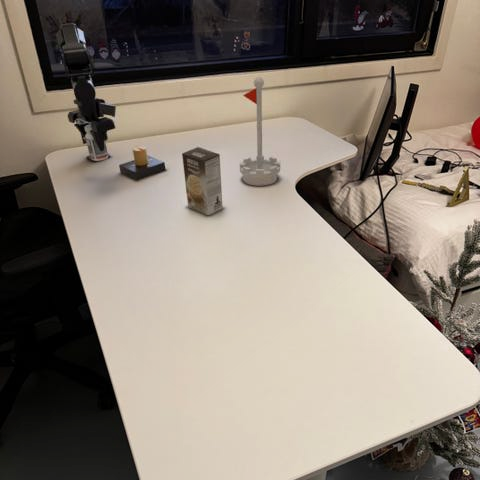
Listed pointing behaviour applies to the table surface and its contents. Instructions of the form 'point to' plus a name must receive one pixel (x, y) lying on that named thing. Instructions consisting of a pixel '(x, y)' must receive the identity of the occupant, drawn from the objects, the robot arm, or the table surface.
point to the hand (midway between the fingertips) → (97, 148)
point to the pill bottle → (94, 146)
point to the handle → (140, 155)
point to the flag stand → (259, 148)
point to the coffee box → (203, 180)
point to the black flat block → (142, 168)
